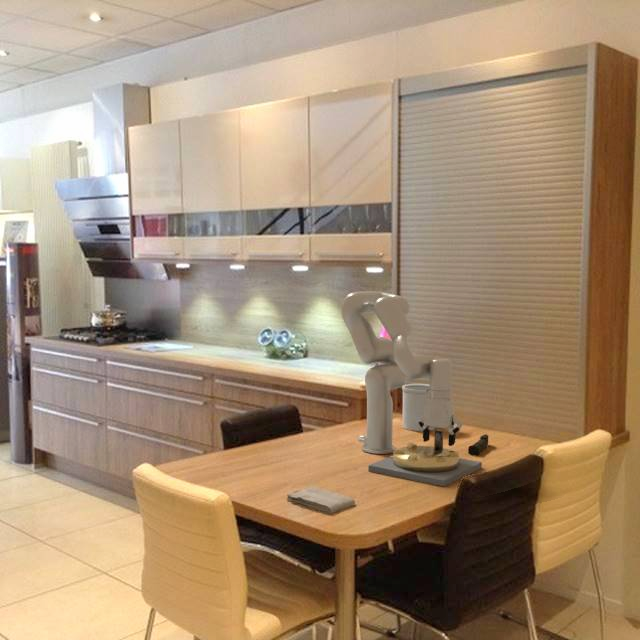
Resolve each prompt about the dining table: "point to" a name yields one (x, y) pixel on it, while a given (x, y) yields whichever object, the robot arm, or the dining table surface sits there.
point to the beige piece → (427, 456)
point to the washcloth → (320, 499)
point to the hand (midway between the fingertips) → (438, 443)
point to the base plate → (434, 478)
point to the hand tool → (478, 445)
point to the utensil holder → (414, 405)
